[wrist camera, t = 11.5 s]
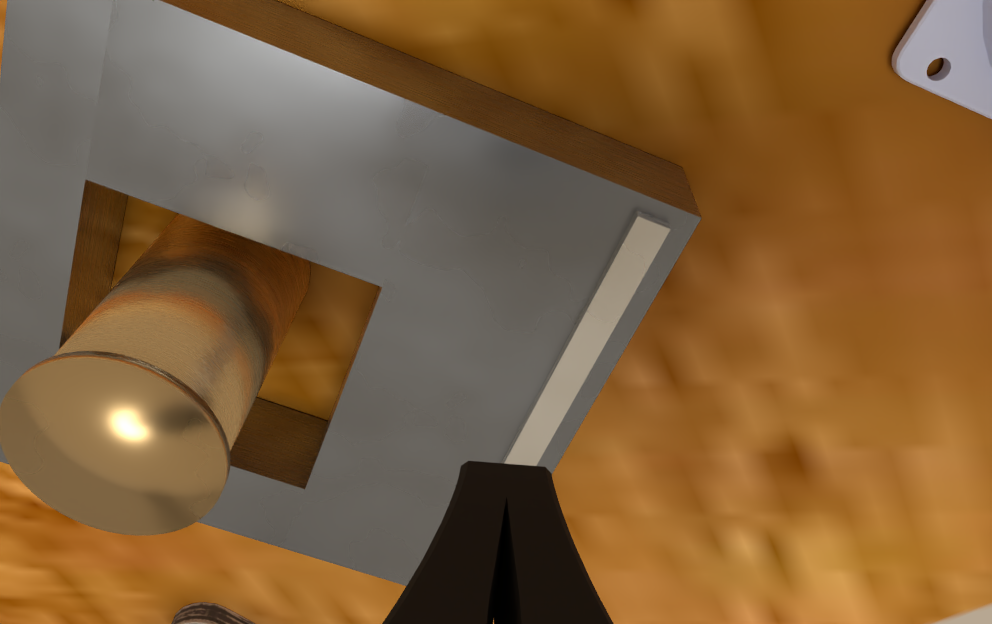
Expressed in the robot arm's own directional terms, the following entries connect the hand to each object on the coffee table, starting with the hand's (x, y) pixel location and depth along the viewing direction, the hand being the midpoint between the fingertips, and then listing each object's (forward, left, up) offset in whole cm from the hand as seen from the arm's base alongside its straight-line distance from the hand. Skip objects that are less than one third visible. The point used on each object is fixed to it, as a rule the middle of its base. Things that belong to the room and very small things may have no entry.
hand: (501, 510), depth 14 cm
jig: (+4, +4, -10) cm, 12 cm away
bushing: (+7, +4, -10) cm, 13 cm away
